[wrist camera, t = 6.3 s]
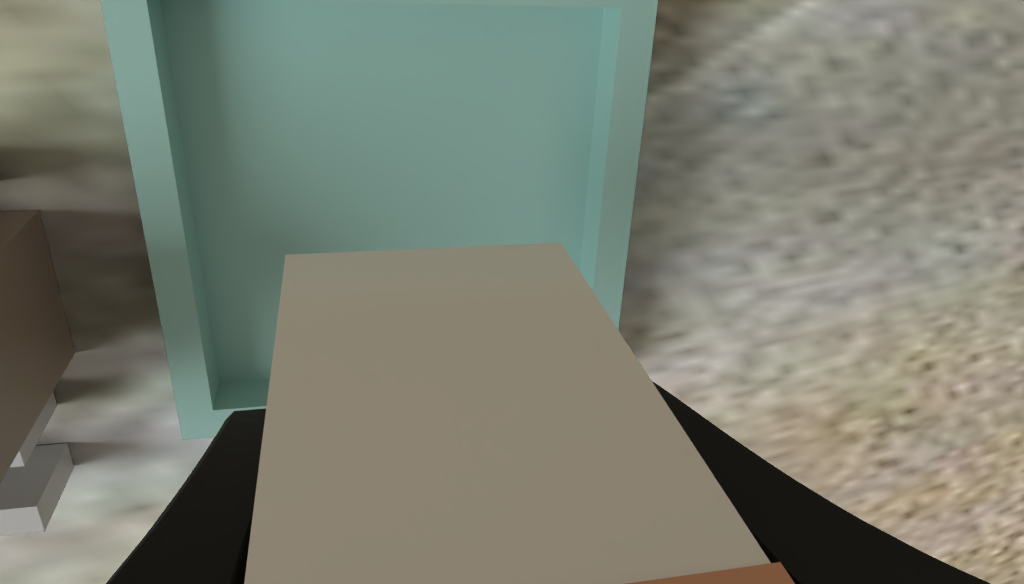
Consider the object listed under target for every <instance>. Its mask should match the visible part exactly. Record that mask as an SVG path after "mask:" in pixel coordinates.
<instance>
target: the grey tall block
mask: <svg viewBox="0 0 1024 584" xmlns="http://www.w3.org/2000/svg"><path fill="white" fill-rule="evenodd" d="M244 584H795V583H794V582H793V580H792V579H791V577H790V576H789V574H788V573H787V571H786V570H785V568H784V567H783V565H782V564H781V562H777V563H771V562H770V561H769V559H768V558H767V556H766V555H765V553H764V552H763V550H762V549H761V547H760V546H759V544H758V543H757V541H756V540H755V538H754V536H753V535H752V533H751V532H750V530H749V529H748V527H747V526H746V524H745V523H744V521H743V520H742V518H741V517H740V515H739V514H738V512H737V511H736V509H735V507H734V506H733V504H732V503H731V501H730V500H729V498H728V497H727V495H726V494H725V492H724V491H723V489H722V488H721V486H720V485H719V483H718V482H717V480H716V478H715V477H714V475H713V474H712V472H711V471H710V469H709V468H708V466H707V465H706V463H705V462H704V460H703V459H702V457H701V456H700V454H699V453H698V451H697V449H696V448H695V446H694V445H693V443H692V442H691V440H690V439H689V437H688V436H687V434H686V433H685V431H684V430H683V428H682V427H681V425H680V423H679V422H678V420H677V419H676V417H675V416H674V414H673V413H672V411H671V410H670V408H669V407H668V405H667V404H666V402H665V401H664V399H663V398H662V396H661V394H660V393H659V391H658V390H657V388H656V387H655V385H654V384H653V382H652V381H651V379H650V378H649V376H648V375H647V373H646V372H645V370H644V369H643V367H642V365H641V364H640V362H639V361H638V359H637V358H636V356H635V355H634V353H633V352H632V350H631V349H630V347H629V346H628V344H627V343H626V341H625V340H624V338H623V336H622V335H621V333H620V332H619V330H618V329H617V327H616V326H615V324H614V323H613V321H612V320H611V318H610V317H609V315H608V314H607V312H606V311H605V309H604V307H603V306H602V304H601V303H600V301H599V300H598V298H597V297H596V295H595V294H594V292H593V291H592V289H591V288H590V286H589V285H588V283H587V281H586V280H585V278H584V277H583V275H582V274H581V272H580V271H579V269H578V268H577V266H576V265H575V263H574V262H573V260H572V259H571V257H570V256H569V254H568V252H567V251H566V249H565V248H564V246H563V245H562V243H561V242H560V243H538V244H515V245H493V246H470V247H448V248H425V249H403V250H380V251H357V252H335V253H312V254H290V255H285V263H284V271H283V279H282V287H281V295H280V303H279V311H278V319H277V326H276V334H275V342H274V350H273V358H272V366H271V374H270V382H269V390H268V398H267V406H266V414H265V422H264V430H263V438H262V446H261V454H260V462H259V470H258V477H257V485H256V493H255V501H254V509H253V517H252V525H251V533H250V541H249V549H248V557H247V565H246V573H245V581H244Z"/></svg>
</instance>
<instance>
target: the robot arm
mask: <svg viewBox="0 0 1024 584" xmlns="http://www.w3.org/2000/svg"><path fill="white" fill-rule="evenodd" d="M653 384H654V385H655V387H656V388H657V390H658V391H659V393H660V394H661V396H662V398H663V399H664V401H665V402H666V404H667V405H668V407H669V408H670V410H671V411H672V413H673V414H674V416H675V417H676V419H677V420H678V422H679V423H680V425H681V427H682V428H683V430H684V431H685V433H686V434H687V436H688V437H689V439H690V440H691V442H692V443H693V445H694V446H695V448H696V449H697V451H698V453H699V454H700V456H701V457H702V459H703V460H704V462H705V463H706V465H707V466H708V468H709V469H710V471H711V472H712V474H713V475H714V477H715V478H716V480H717V482H718V483H719V485H720V486H721V488H722V489H723V491H724V492H725V494H726V495H727V497H728V498H729V500H730V501H731V503H732V504H733V506H734V507H735V509H736V511H737V512H738V514H739V515H740V517H741V518H742V520H743V521H744V523H745V524H746V526H747V527H748V529H749V530H750V532H751V533H752V535H753V536H754V538H755V540H756V541H757V543H758V544H759V546H760V547H761V549H762V550H763V552H764V553H765V555H766V556H767V558H768V559H769V561H770V562H771V563H777V562H781V564H782V565H783V567H784V568H785V570H786V571H787V573H788V574H789V576H790V577H791V579H792V580H793V582H794V583H795V584H990V583H988V582H986V581H983V580H981V579H979V578H977V577H974V576H972V575H970V574H968V573H965V572H963V571H961V570H959V569H957V568H954V567H952V566H950V565H948V564H946V563H944V562H942V561H940V560H938V559H936V558H934V557H932V556H929V555H927V554H925V553H923V552H921V551H919V550H917V549H915V548H914V547H912V546H910V545H908V544H906V543H904V542H902V541H900V540H898V539H897V538H895V537H893V536H891V535H889V534H887V533H885V532H883V531H881V530H880V529H878V528H876V527H874V526H872V525H870V524H868V523H866V522H864V521H863V520H861V519H859V518H857V517H856V516H854V515H852V514H850V513H849V512H847V511H845V510H843V509H842V508H840V507H838V506H836V505H835V504H833V503H832V502H830V501H828V500H827V499H825V498H823V497H822V496H820V495H819V494H817V493H815V492H814V491H812V490H810V489H809V488H807V487H806V486H804V485H802V484H801V483H799V482H797V481H796V480H794V479H793V478H791V477H790V476H788V475H786V474H785V473H783V472H782V471H780V470H779V469H777V468H776V467H774V466H773V465H771V464H770V463H768V462H767V461H765V460H764V459H762V458H761V457H759V456H758V455H756V454H755V453H753V452H752V451H750V450H749V449H748V448H746V447H745V446H743V445H742V444H740V443H739V442H737V441H736V440H735V439H733V438H732V437H730V436H729V435H727V434H726V433H725V432H723V431H722V430H720V429H719V428H718V427H716V426H715V425H713V424H712V423H711V422H709V421H708V420H706V419H705V418H704V417H702V416H701V415H699V414H698V413H697V412H695V411H694V410H692V409H691V408H690V407H688V406H687V405H686V404H684V403H683V402H681V401H680V400H678V399H677V398H676V397H674V396H673V395H671V394H670V393H669V392H667V391H666V390H664V389H663V388H661V387H660V386H658V385H657V384H655V383H654V382H653ZM265 414H266V408H265V409H253V410H241V411H234V412H233V413H232V414H231V415H230V416H229V417H228V418H227V419H226V420H225V421H224V423H223V425H222V426H221V428H220V430H219V431H218V433H217V435H216V436H215V438H214V439H213V441H212V442H211V444H210V446H209V447H208V449H207V450H206V452H205V453H204V455H203V456H202V458H201V459H200V461H199V462H198V464H197V465H196V467H195V468H194V470H193V471H192V473H191V474H190V476H189V477H188V478H187V480H186V481H185V483H184V484H183V486H182V487H181V488H180V490H179V491H178V492H177V494H176V495H175V497H174V498H173V499H172V501H171V502H170V503H169V505H168V506H167V507H166V509H165V510H164V511H163V513H162V514H161V516H160V517H159V518H158V520H157V521H156V522H155V524H154V525H153V526H152V528H151V529H150V530H149V532H148V533H147V534H146V535H145V537H144V538H143V539H142V541H141V542H140V543H139V544H138V545H137V547H136V548H135V549H134V550H133V551H132V553H131V554H130V555H129V556H128V558H127V559H126V560H125V561H124V562H123V564H122V565H121V566H120V567H119V568H118V570H117V571H116V572H115V573H114V574H113V576H112V577H111V578H110V579H109V581H108V582H107V583H106V584H244V581H245V573H246V565H247V557H248V549H249V541H250V533H251V525H252V517H253V509H254V501H255V493H256V485H257V477H258V470H259V462H260V454H261V446H262V438H263V430H264V422H265Z"/></svg>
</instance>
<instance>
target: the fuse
mask: <svg viewBox="0 0 1024 584" xmlns="http://www.w3.org/2000/svg"><path fill="white" fill-rule="evenodd" d="M74 354H75V352H74V348H73V344H72V340H71V336H70V332H69V328H68V324H67V320H66V316H65V312H64V308H63V304H62V300H61V296H60V292H59V288H58V284H57V280H56V276H55V272H54V268H53V264H52V260H51V256H50V252H49V248H48V244H47V240H46V236H45V232H44V228H43V224H42V220H41V216H40V212H39V210H20V211H0V484H1V482H2V480H3V478H4V476H5V475H6V473H7V471H8V469H9V468H10V466H11V464H12V462H13V461H14V459H15V457H16V455H17V454H18V452H19V450H20V448H21V447H22V445H23V443H24V441H25V440H26V438H27V436H28V434H29V433H30V431H31V429H32V427H33V426H34V424H35V422H36V420H37V419H38V417H39V415H40V413H41V411H42V410H43V408H44V406H45V404H46V403H47V401H48V399H49V397H50V396H51V394H52V392H53V390H54V389H55V387H56V385H57V383H58V382H59V380H60V378H61V376H62V375H63V373H64V371H65V369H66V368H67V366H68V364H69V362H70V361H71V359H72V357H73V355H74Z"/></svg>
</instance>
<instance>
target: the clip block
mask: <svg viewBox="0 0 1024 584" xmlns="http://www.w3.org/2000/svg"><path fill="white" fill-rule="evenodd" d="M56 407H57V403H56V400H55V396H54V392H52V394H51V396H50V397H49V399H48V401H47V403H46V404H45V406H44V408H43V410H42V411H41V413H40V415H39V417H38V419H37V420H36V422H35V424H34V426H33V427H32V429H31V431H30V433H29V434H28V436H27V438H26V440H25V441H24V443H23V445H22V447H21V448H20V450H19V452H18V454H17V455H16V457H15V459H14V461H13V462H12V464H11V466H10V468H9V469H8V471H7V473H6V475H5V476H4V478H3V480H2V482H1V484H0V536H10V535H19V534H28V533H37V532H45V530H46V527H47V525H48V523H49V521H50V519H51V516H52V514H53V512H54V510H55V508H56V505H57V503H58V501H59V499H60V497H61V494H62V492H63V490H64V488H65V486H66V483H67V481H68V479H69V477H70V475H71V472H72V470H73V468H74V466H73V462H72V459H71V455H70V451H69V448H68V444H67V443H65V444H53V445H42V446H36V444H37V442H38V440H39V438H40V436H41V434H42V433H43V431H44V429H45V427H46V425H47V423H48V422H49V420H50V418H51V416H52V414H53V412H54V411H55V409H56Z"/></svg>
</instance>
